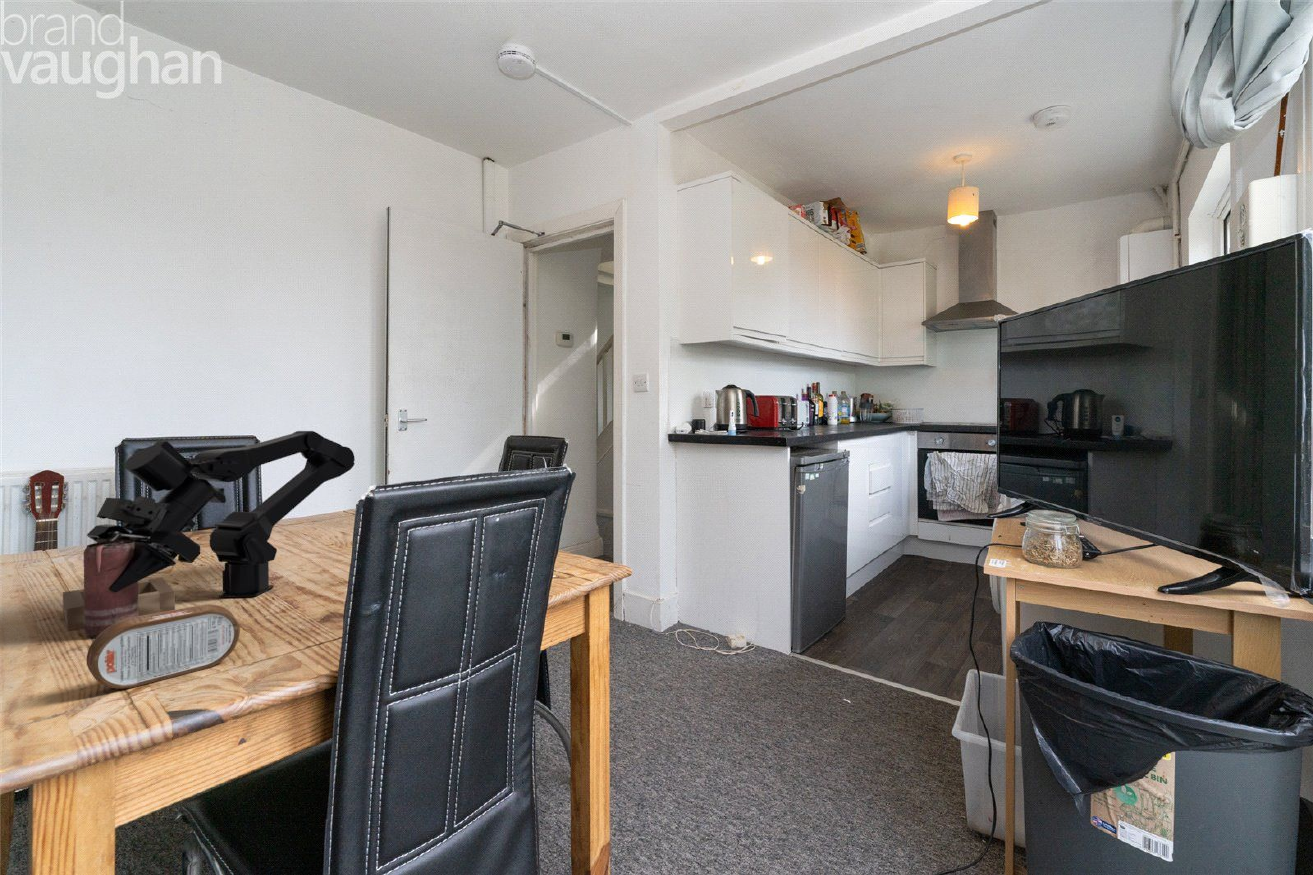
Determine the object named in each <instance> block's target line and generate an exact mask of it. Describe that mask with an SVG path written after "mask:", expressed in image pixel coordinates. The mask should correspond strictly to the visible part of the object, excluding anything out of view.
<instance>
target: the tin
mask: <svg viewBox="0 0 1313 875" xmlns="http://www.w3.org/2000/svg"><path fill="white" fill-rule="evenodd" d="M240 634H241V629H240V624H239V621H238V620H237V619H236V617H235V615H234V614H233V613H232V612H231V611H230V610H229V609H227V608H226V607H224V606H222V605H219V604H200V605H194V606H189V607H183V608H178V609H175V610H172V611H166V612H161V613H155V614H149V615H144V616H138V617H133V618H128V619H125V620H122V621H119V622H117V623H115V624H113V625H111V626H110V627H108V628H107V629H105V630H104V631H103V632H101V633H100V634H99V635H98V636H97V637H96V638H94V640H93V641H92V643H91V644H90V646H89V648H88V651H87V653H86V667H87V669H88V671H89V673H91V675H92V676H93V678H94V679H95V680H96V681H97V682H98V683H99V684H101V685H104V686H106V687H108V688H113V689H120V690H121V689H132V688H137V687H139V686H144V685H148V684H151V683H155V682H159V681H163V680H168V679H171V678H176V677H179V676H183V675H188V674H191V673H195V672H198V671H202V670H206V669H210V668H212V667H214V666H216V665H218V664H220V663H221V662H222V661H224V660H225V659H226V658H227V657H228V656H229V655H230V654H232V653H233V651H234V650H235V648H236V646H237V644H238V642H239V638H240Z"/></svg>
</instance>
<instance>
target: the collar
mask: <svg viewBox="0 0 1313 875" xmlns="http://www.w3.org/2000/svg"><path fill="white" fill-rule="evenodd" d="M175 593H176V592H175V590H174V588H172V586H171V585H170V584H169V583H168V582H167V581H166V580H165V579H164V578H163V577H155V578H150V579H149V578H148V579H144V580H143V579H142V580H140V581H138V616H144V615H149V614H155V613H161V612H166V611H172V610H176V602H175V601H176V597H175V596H176V594H175ZM62 612H63V617H64V621H65V625H66V630H67V632H69V631H75V630H78V629H85V615H84V588H83V589H82V588H81V589H76V590H70V591H63V592H62Z"/></svg>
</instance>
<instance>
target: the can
mask: <svg viewBox="0 0 1313 875" xmlns="http://www.w3.org/2000/svg"><path fill="white" fill-rule="evenodd" d="M134 544H135V542H134V541H132V540H118V541H107V542H99V543H97V542H95V543H90V544H88V545H86V547H85V549H84V550H83V589H84V615H85V628H84V634H85V635H86V636H87V637H88V638H91V639H92V638H93V639H96V637H97V636H98V635H99V634H100V633H101V632H103V631H104V630H105V629H107V628H108V627H110V626H111V625H113V624H115V623H117V622H119V621H122V620H125V619H128V618H133V617H138V582H136V583H134V584H132V585H130V586H128V587H126V588H124V589H122V590H120V591H118V592H112V591H110V590H109V587H110V586H111V585H112V584H113V583H114V582H115V581H116V579H117V578H118V577H119V576H120V574H121V573H122V572H123V570H124V569H125V568H126V566H127V564H128V563H129V561H130V560H131V559H132V558H133V556H134Z"/></svg>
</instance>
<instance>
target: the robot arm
mask: <svg viewBox="0 0 1313 875" xmlns="http://www.w3.org/2000/svg"><path fill="white" fill-rule="evenodd" d="M297 454H300V455H301V456H302V457H303V458H304V459H306V461H305V465H304V468H303V469H302V470H301V471H300V472H298V473H297V474H296V475H294V476H293V477H292V478H291V479H290V480H289V481H287V482H286V483H285V484H284V485H283V486H281V487H280V488H279V489H278V490H275V492H274V493H273V494H271V495H270V496H269V497H268V498H267V499H265V500H264V501H262V503H260V504H259V505H257V506H256V507H255V508H254V509H253V510H251V511H249V512H248V511H247V512H246V511H233V512H231V513H229V515H228V516H226V518H225V519H223V520H222V521H221V522H218V523H215V524H214V527H216V528H214V530H212V532H211V533H210V535H209V547H210V550H211V551H212V552H213V553H215V555H216V558H217V560H218V563H224V569H223V570H222V592H223V593H220V594H218V597H219V598H252V597H253V598H254V597H257V596H260V595H261V594H263V593H265V592H267V591H270V590H271V589H273V588H274V587H275V585H274V584H270V583H269V582H270V581H269V577H270V576H269V573H270V572H269V571H270V570H269V567H270V566H269V565H270V564H269V562H271V561H274V560H275V558H276V555H277V552H278V549H277V548H276V547H275V546H273V545H272V544H271V543H270V542H269V539H270V537H271V534H272V531H273V528H274V526H276V524H278V523H279V522H280V521H281V520H283V518H285V517H286V516H287V515H288V514H289V513H290V512H292V511H293V510H294V509H295V508H297V506H298V505H300V504H301V503H302V502H303V501H304V500H305V499H307V498H308V497H309V496H310V495H311V494H312V493H314V491H316V490H317V489H318V488H319V487H320V486H322V485H323V484H324V483H325V482H328V481H331V480H334V479H337V478H339V477H341V476H342V475H345V474H346V473H347V472H349V471H351V470H352V469H353V468H354V466H355V460H356V459H355V453H354V452H353V450H352V449H351V448H350V447H349V446H344V445H341V444H340V443H338V442H336V441H334V440H331V439H329V438H326V437H324V436H323V435H322V434H320V433H318V432H316V431H314V430H296V431H295V432H293V433H291V434H286V435H282V436H279V437H275V438H272V439H268V440H265V441H261V442H258V443H254V444H250V445H247V446H243V447H232V448H231V447H230V448H219V449H210V450H209V449H208V450H203V451H200V452H198V453H196V455H194V456H195V457H192V458H186V457H185V456H184V455H183V454H181V453H180V452H179V451H177V449H175V447H174V446H173V445H172V443H170V442H169V441H167V440H157V441H156V442H155V443H154V444H153V445H150V446H147V447H144V448H143V449H141V450H140V451H138V452H135V453H133V454H132V455H131V456H130V457H128V459H127V460H126V461H125V462H124V465H123V468H124V469H125V470H126V471H127V472H128V473H130V474H131V475H133V476H134V477H135V478H137V479H138V480H139V481H141V482H142V484H145V486H147V487H148V488H149V489H151V490H152V491H154V492H161V491H165V492H166V493H165V494H164V495H163V496H162V497H161V498H160V499H159V500H158V501H157V502H156V499H154V498H151V497H148V496H137V497H136V498H135V499H133V500H131V499H127V498H126V499H125V498H117V497H106V498H105V499H104V502H103V504H102V506H101V508H100V510H99V511H98V513H97V515H96V518H99V519H104V520H105V519H109V520H113V521H116V522H120V523H123V524H122V525H119V524H118V525H116V524H106V523H105V524H97V525H95V526H94V527H93V528H92V529H91V530H90V531H89V532H88V533H87V534H86V537H87V538H89V539H91V540H92V541H93V542H95V543H99V542H107V541H118V540H132V541H134V542H135V544H134V556H133V558H132V559H131V560H130V561H129V563H128V564H127V566H126V568H125V569H124V570H123V572H122V573H121V574H120V576H119V577H118V578H117V579H116V581H115V582H114V583H113V584H112V585H111V586H110V587H109V590H110V591H112V592H118V591H120V590H122V589H124V588H126V587H128V586H130V585H132V584H134V583H136V582H138V581H141V580H143V579H145V578H148V577H149V576H151V575H154V574H156V573H158V572H160V571H162V570H164V569H166V568H169V567H171V566H173V567H174V566H175V565H176V564H177V562H176V561H175V559H176V557H177V561H178V562H180V563H186V564H193V563H194V562H195V560H197V558H198V557H199V556H200V555H201V545H200V544H198V543H197V542H195V541H194V540H192V539H191V538H190V537H189V536H188V535H186V534H185V533H184V530H185V529H193V528H194V527H195V526H196V525H197V522H195V521H194V519H195V518H196V517H197V516H198V514H200V513H201V511H202V510H203V509H204V508H205V507H206V506H208V504H210V503H214V504H215V503H218V504H225V503H226V502H227V499H226V495H225V488H224V487H216V486H214V485H213V484H212V483H211V482H213V483H214V482H216V483H217V482H219V483H232V482H236V481H238V480H239V479H242V478H244V477H246V476H248V475H249V474H251V473H252V472H253V471H254V470H255V469H256V468H257V467H260V466H262V465H264V464H269V463H271V462H274V461H277V460H281V459H283V458H288V457H290V456H294V455H297ZM130 531H131V532H130Z"/></svg>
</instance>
